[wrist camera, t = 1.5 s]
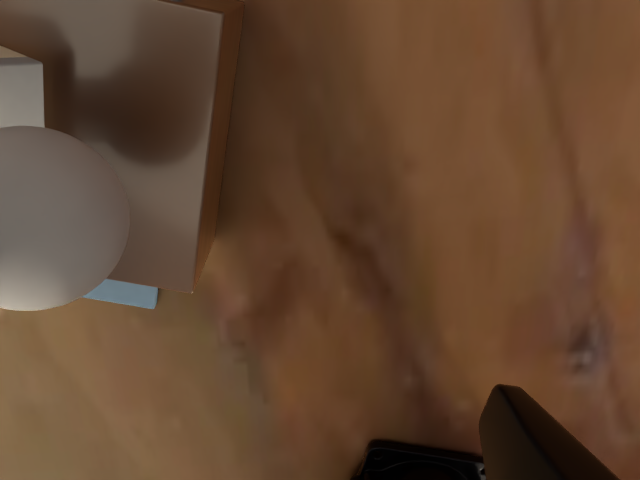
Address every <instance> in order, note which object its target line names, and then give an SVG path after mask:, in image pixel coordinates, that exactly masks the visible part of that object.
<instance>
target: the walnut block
mask: <svg viewBox="0 0 640 480" xmlns="http://www.w3.org/2000/svg"><path fill="white" fill-rule="evenodd" d="M244 6H245V5H244V3H243V2H242V1H237V0H0V46H2V47H5V48H7V49H10V50H12V51H15V52H17V53H20V54H22V55H25V56H27V57H30V58H32V59H35V60H37V61H40V62H42V64H43V91H44V126H45V128H49V129H53V130H57V131H60V132H63V133H65V134H68V135H70V136H72V137H74V138H76V139H78V140H80V141H82V142H84V143H85V144H87V145H88V146H90V147H91V148H92V149H94V150H95V151H96V152H97V153H99V154H100V155H101V156H102V157H103V158H104V159H105V160H106V161H107V162H108V164H109V165H110V166H111V167H112V169H113V170H114V172H115V173H116V175H117V176H118V178H119V180H120V182H121V184H122V186H123V189H124V191H125V194H126V197H127V200H128V206H129V215H130V227H129V235H128V239H127V242H126V246H125V249H124V251H123V253H122V256H121V258H120V260H119V261H118V263H117V265H116V266H115V268H114V269H113V271H112V272H111V273H110V274H109V275H108V277H107V278H106V279H110V280H116V281H121V282H127V283H133V284H139V285H145V286H150V287H156V288H162V289H168V290H173V291H179V292H185V293H193V292H194V289H195V287H196V284H197V282H198V279H199V277H200V274H201V272H202V269H203V267H204V264H205V262H206V259H207V257H208V254H209V252H210V249H211V247H212V244H213V242H214V238H215V230H216V222H217V215H218V207H219V199H220V191H221V184H222V176H223V168H224V160H225V153H226V145H227V137H228V129H229V122H230V114H231V106H232V99H233V91H234V83H235V75H236V68H237V60H238V52H239V44H240V37H241V29H242V21H243V13H244Z"/></svg>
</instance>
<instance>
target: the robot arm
mask: <svg viewBox="0 0 640 480" xmlns="http://www.w3.org/2000/svg"><path fill="white" fill-rule="evenodd" d="M479 433H480V440H481V447H482V455H483V457H477V456H471V455H465V454H458V453H452V452H445V451H439V450H432V449H426V448H419V447H413V446H407V445H400V444H394V443H387V442H381V441H375V442H371V443H370V444H369V445H368V446H367V449H366V452H365V455H364V458H363V460H362V463H361V466H360V469H359V472H358V475H357V474H355V475H354V476H353V477H352V478H351V479H350V480H620V479H619V478H618V477H617V476H616V475H615V474H614V473H613V472H611V471H610V470H609V469H608V468H607V467H606V466H605V465H604V464H603V463H602V462H601V461H600V460H599V459H597V458H596V457H595V456H594V455H593V454H592V453H591V452H590V451H589V450H588V449H587V448H586V447H584V446H583V445H582V444H581V443H580V442H579V441H578V440H577V439H576V438H575V437H574V436H573V435H571V434H570V433H569V432H568V431H567V430H566V429H565V428H564V427H563V426H562V425H561V424H560V423H559V422H557V421H556V420H555V419H554V418H553V417H552V416H551V415H550V414H549V413H548V412H547V411H546V410H544V409H543V408H542V407H541V406H540V405H539V404H538V403H537V402H536V401H535V400H534V399H533V398H532V397H530V396H529V395H528V394H527V393H526V392H525V391H524V390H523V389H522V388H520V387H517V386H511V385H504V384H498V385H496V386H495V387H494V388H493V389H492V391H491V394H490V396H489V398H488V400H487V403H486V405H485V407H484V409H483V412H482V414H481V417H480V421H479ZM376 451H380V452H376Z"/></svg>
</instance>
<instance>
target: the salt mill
mask: <svg viewBox="0 0 640 480" xmlns="http://www.w3.org/2000/svg"><path fill="white" fill-rule="evenodd" d="M129 227H130V215H129V206H128V200H127V197H126V194H125V191H124V189H123V186H122V184H121V182H120V180H119V178H118V176H117V175H116V173H115V172H114V170H113V169H112V167H111V166H110V165H109V164H108V162H107V161H106V160H105V159H104V158H103V157H102V156H101V155H100V154H99V153H97V152H96V151H95V150H94V149H92V148H91V147H90V146H88V145H87V144H85V143H84V142H82V141H80V140H78V139H76V138H74V137H72V136H70V135H68V134H65V133H63V132H60V131H57V130H53V129H49V128H45V126H44V91H43V64H42V62H40V61H37V60H35V59H32V58H30V57H27V56H25V55H22V54H20V53H17V52H15V51H12V50H10V49H7V48H5V47H2V46H0V308H4V309H9V310H18V311H35V310H45V309H49V308H54V307H58V306H62V305H65V304H67V303H70V302H72V301H74V300H77V299H79V298H80V297H82V296H84V295H86V294H88V293H89V292H90V291H92V290H93V289H94V288H96V287H97V286H98V285H100V284H101V283H102V282H103V281H104V280H105V279H106V278H107V277H108V275H109V274H110V273H111V272H112V271H113V269H114V268H115V266H116V265H117V263H118V261H119V260H120V258H121V256H122V253H123V251H124V249H125V246H126V242H127V239H128V235H129Z"/></svg>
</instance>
